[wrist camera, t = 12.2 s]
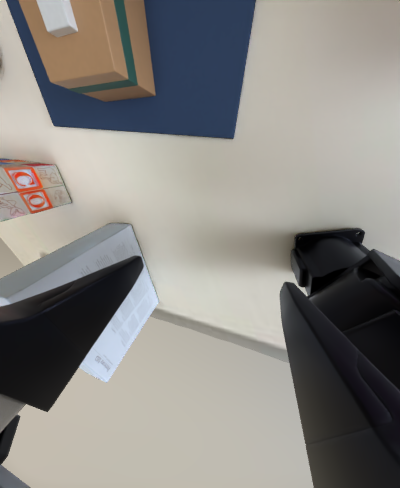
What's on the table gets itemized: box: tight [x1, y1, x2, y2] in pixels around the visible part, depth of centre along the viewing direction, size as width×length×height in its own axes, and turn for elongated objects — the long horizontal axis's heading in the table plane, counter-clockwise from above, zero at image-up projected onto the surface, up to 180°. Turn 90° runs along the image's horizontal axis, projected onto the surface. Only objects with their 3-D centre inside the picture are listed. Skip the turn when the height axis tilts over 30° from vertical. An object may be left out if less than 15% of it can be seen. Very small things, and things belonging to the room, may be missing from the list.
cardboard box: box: [19, 0, 156, 102], centre depth 11 cm, size 6×8×6 cm
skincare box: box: [0, 223, 159, 383], centre depth 25 cm, size 21×5×16 cm, turn 7°
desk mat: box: [6, 0, 256, 139], centre depth 13 cm, size 24×14×1 cm, turn 87°
